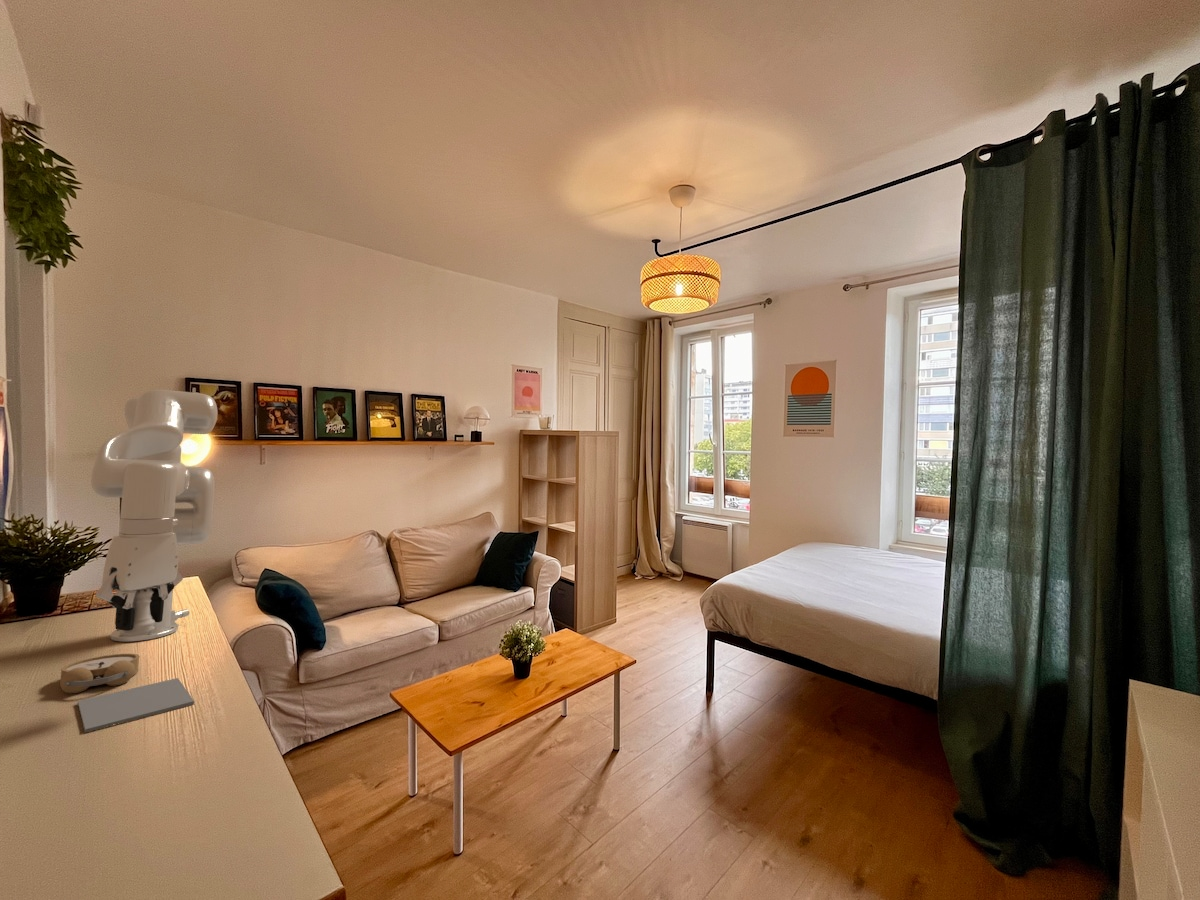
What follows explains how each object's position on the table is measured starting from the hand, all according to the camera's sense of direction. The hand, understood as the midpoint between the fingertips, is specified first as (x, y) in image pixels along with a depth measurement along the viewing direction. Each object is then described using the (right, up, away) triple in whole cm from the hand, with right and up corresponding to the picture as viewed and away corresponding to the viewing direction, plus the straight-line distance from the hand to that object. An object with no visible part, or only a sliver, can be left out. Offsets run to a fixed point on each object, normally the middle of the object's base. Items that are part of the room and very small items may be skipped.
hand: (139, 624), depth 92 cm
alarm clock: (-14, -14, +6) cm, 21 cm away
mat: (+1, -14, -2) cm, 14 cm away
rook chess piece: (0, -2, 0) cm, 2 cm away
